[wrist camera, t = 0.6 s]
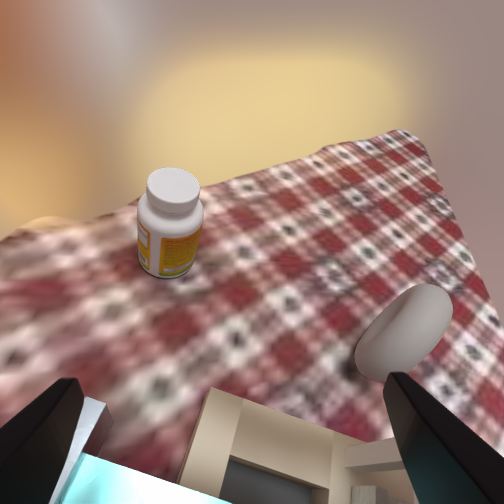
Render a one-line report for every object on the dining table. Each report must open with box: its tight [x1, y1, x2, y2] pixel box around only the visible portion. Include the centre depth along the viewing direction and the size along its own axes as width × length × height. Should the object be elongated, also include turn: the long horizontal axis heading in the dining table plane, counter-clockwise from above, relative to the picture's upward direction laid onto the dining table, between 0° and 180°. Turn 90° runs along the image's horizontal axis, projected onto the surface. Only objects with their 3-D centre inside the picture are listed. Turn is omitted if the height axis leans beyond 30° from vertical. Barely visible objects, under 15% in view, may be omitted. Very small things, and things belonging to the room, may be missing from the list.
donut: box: [354, 284, 453, 382], centre depth 27 cm, size 10×4×10 cm, turn 138°
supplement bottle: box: [137, 167, 204, 278], centre depth 28 cm, size 5×5×10 cm
